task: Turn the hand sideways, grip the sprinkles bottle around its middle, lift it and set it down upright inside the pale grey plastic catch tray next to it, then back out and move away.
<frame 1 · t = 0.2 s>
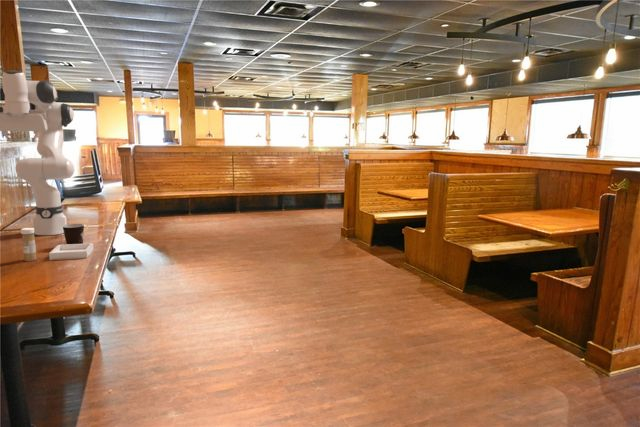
hand: (22, 141, 188), 48 cm above the table, tool pointing down, fingers open, 8 cm apart
catch tray: (72, 254, 188), on the table
sprinkles bottle: (30, 260, 179), on the table
coffee mug: (77, 246, 203), on the table
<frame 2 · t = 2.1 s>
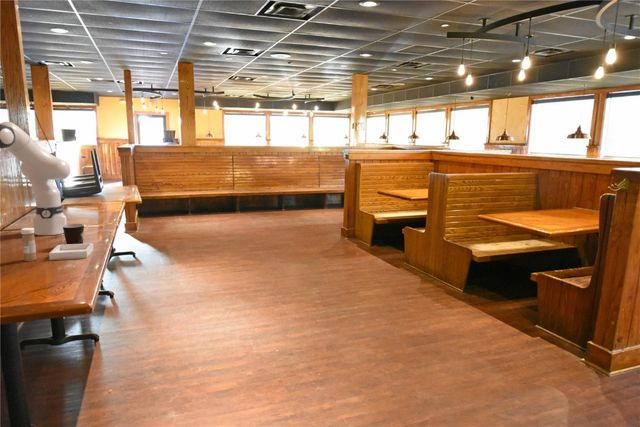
nothing on the table moved.
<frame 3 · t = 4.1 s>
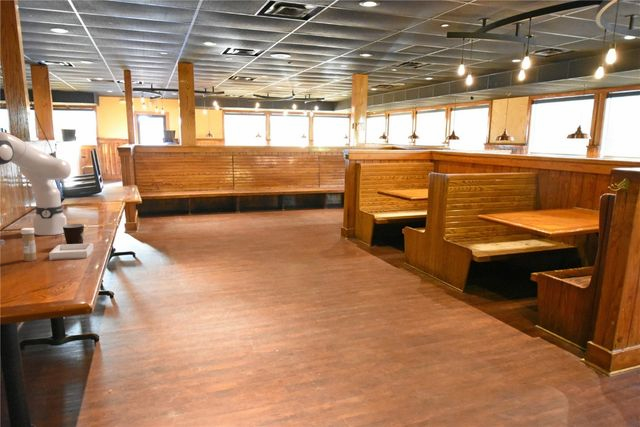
hand: (1, 244, 174), 7 cm above the table, tool horizontal, fingers open, 8 cm apart
nothing on the table moved.
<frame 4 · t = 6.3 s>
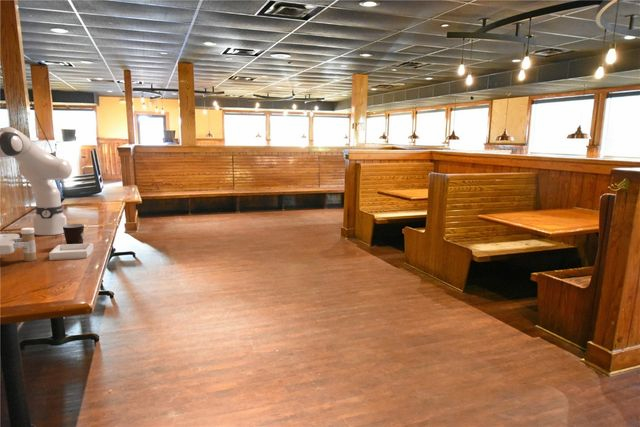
hand: (30, 242, 178), 8 cm above the table, tool horizontal, fingers closed on sprinkles bottle, 4 cm apart
sprinkles bottle: (30, 260, 179), on the table, touching gripper
everything else where it was.
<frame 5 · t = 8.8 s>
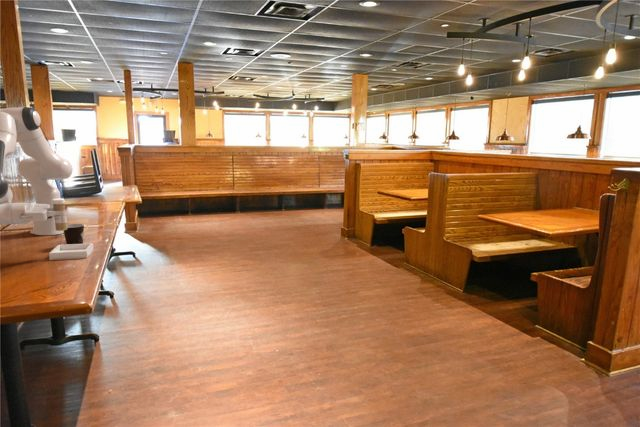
hand: (61, 211, 183), 19 cm above the table, tool horizontal, fingers closed on sprinkles bottle, 4 cm apart
sprinkles bottle: (61, 230, 184), point 11 cm above the table, touching gripper
everything else where it was.
when the fingers open (9 cm above the table, at t = 11.1 s): sprinkles bottle stays where it is, resting on catch tray.
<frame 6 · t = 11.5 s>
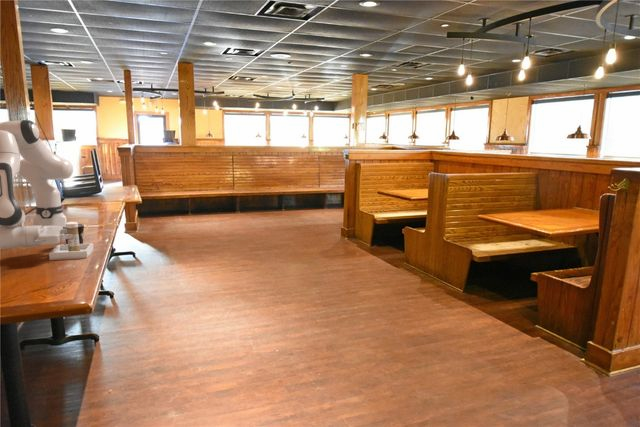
hand: (73, 233, 187), 9 cm above the table, tool horizontal, fingers open, 8 cm apart
sprinkles bottle: (74, 253, 188), point 1 cm above the table, touching catch tray
everything else where it was.
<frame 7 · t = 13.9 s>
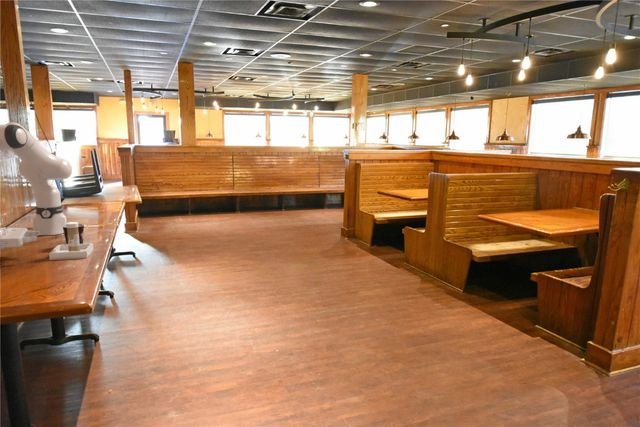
hand: (38, 235, 181), 10 cm above the table, tool horizontal, fingers open, 8 cm apart
nothing on the table moved.
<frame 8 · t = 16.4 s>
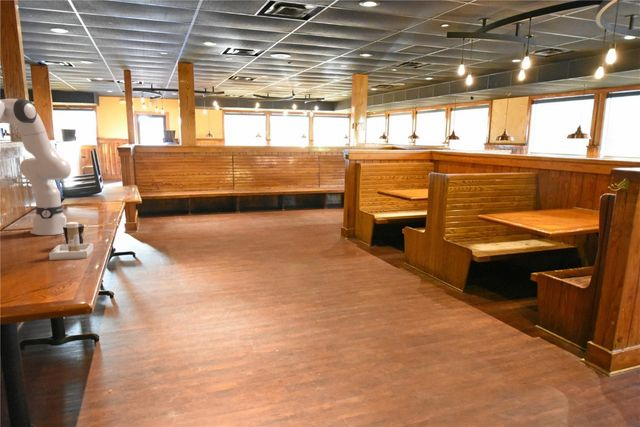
hand: (15, 181, 177), 32 cm above the table, tool horizontal, fingers open, 8 cm apart
nothing on the table moved.
at the end: sprinkles bottle inside the target area on the catch tray (0.8 cm from its centre), point 0.6 cm above the catch tray's base; sprinkles bottle tilted 0°; the gripper is holding nothing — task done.
